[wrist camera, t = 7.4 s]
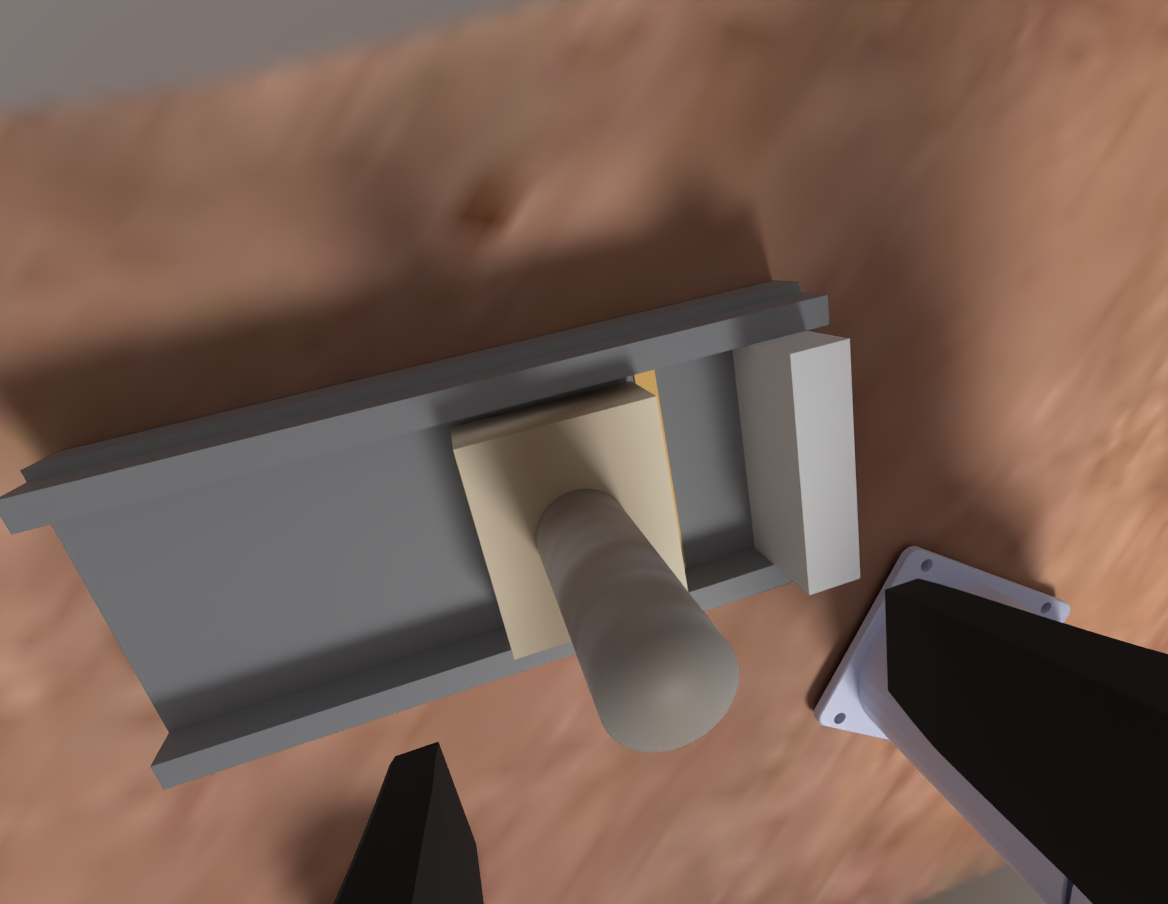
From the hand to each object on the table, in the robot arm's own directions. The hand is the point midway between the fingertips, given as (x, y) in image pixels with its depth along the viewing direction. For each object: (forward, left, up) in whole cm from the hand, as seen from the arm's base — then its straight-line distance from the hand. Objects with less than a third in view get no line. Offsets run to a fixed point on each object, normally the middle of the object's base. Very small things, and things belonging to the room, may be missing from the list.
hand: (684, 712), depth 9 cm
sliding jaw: (0, 0, -8) cm, 8 cm away
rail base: (+2, +1, -10) cm, 10 cm away
